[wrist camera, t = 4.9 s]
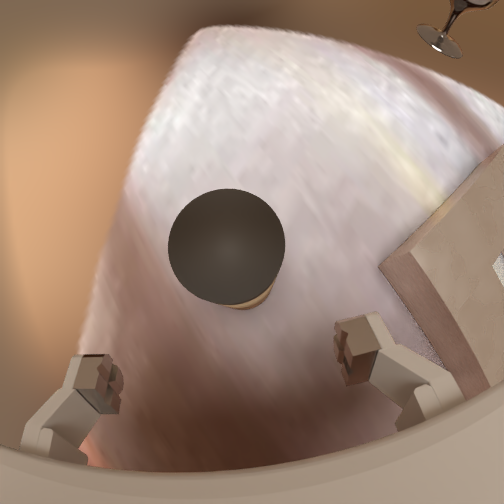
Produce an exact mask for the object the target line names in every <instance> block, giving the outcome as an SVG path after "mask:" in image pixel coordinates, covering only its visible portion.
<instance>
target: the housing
mask: <svg viewBox="0 0 504 504" xmlns="http://www.w3.org/2000/svg"><path fill="white" fill-rule="evenodd" d="M501 252H502V254H503V256H504V144H503V145H501V146H500V147H499V148H498V149H497V150H496V151H494V152H493V153H492V154H491V155H490V156H488V157H487V158H486V159H485V160H483V161H482V162H481V163H480V164H479V165H478V166H477V167H476V168H475V169H474V171H473V172H472V173H471V174H470V175H469V176H468V177H467V178H466V180H465V181H464V182H463V183H462V184H461V185H460V186H459V187H458V188H457V189H456V190H455V192H454V193H453V194H452V195H451V196H450V197H449V198H448V199H447V200H446V201H445V202H444V203H443V204H442V205H441V206H440V207H439V208H438V209H437V210H436V211H435V212H434V213H433V214H432V215H431V216H430V217H429V218H428V219H427V220H426V221H425V222H424V223H423V224H422V225H421V226H420V227H419V228H418V229H417V230H416V231H415V232H414V233H413V234H412V235H411V236H410V237H409V238H408V239H407V240H406V241H405V242H404V243H403V244H402V245H401V246H400V247H399V248H397V249H396V250H395V251H394V252H393V253H392V254H391V255H390V256H389V257H388V258H387V259H386V260H384V261H383V262H382V263H381V264H380V265H379V266H378V267H379V269H380V270H381V271H382V273H383V274H384V275H385V277H386V278H387V280H388V281H389V282H390V284H391V285H392V286H393V288H394V289H395V291H396V292H397V294H398V295H399V296H400V298H401V299H402V301H403V302H404V304H405V305H406V306H407V308H408V309H409V311H410V312H411V314H412V315H413V317H414V318H415V320H416V321H417V323H418V324H419V326H420V327H421V329H422V330H423V332H424V333H425V335H426V337H427V338H428V340H429V341H430V343H431V344H432V346H433V348H434V349H435V351H436V352H437V354H438V356H439V357H440V359H441V360H442V362H443V364H444V365H445V367H446V369H447V370H448V372H450V373H451V374H452V376H453V378H454V380H455V381H456V383H457V385H458V387H459V389H460V390H461V392H462V394H463V396H464V398H465V400H466V401H467V400H469V399H471V398H473V397H475V396H477V395H478V394H480V393H482V392H484V391H485V390H487V389H489V388H490V387H492V386H494V385H495V384H497V383H499V382H500V381H502V380H503V379H504V287H503V285H502V284H501V282H500V280H499V278H498V276H497V274H496V272H495V271H494V269H493V267H492V265H493V264H494V262H495V261H496V259H497V258H498V256H499V255H500V253H501Z"/></svg>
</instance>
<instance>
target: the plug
mask: <svg viewBox="0 0 504 504" xmlns="http://www.w3.org/2000/svg"><path fill="white" fill-rule="evenodd" d="M284 252H285V237H284V232H283V228H282V225H281V223H280V220H279V219H278V217H277V215H276V213H275V212H274V211H273V210H272V208H271V207H270V206H269V205H268V204H267V203H266V202H264V201H263V200H262V199H260V198H259V197H257V196H255V195H253V194H251V193H249V192H246V191H242V190H237V189H219V190H214V191H210V192H207V193H205V194H203V195H201V196H199V197H197V198H195V199H194V200H192V201H191V202H190V203H189V204H188V205H186V206H185V207H184V209H183V210H182V211H181V212H180V213H179V215H178V216H177V218H176V220H175V222H174V223H173V226H172V228H171V231H170V235H169V241H168V254H169V260H170V264H171V267H172V269H173V272H174V274H175V275H176V277H177V279H178V280H179V281H180V283H181V284H182V285H183V286H184V287H185V288H186V289H187V290H188V291H189V292H191V293H192V294H194V295H195V296H197V297H199V298H201V299H204V300H206V301H209V302H213V303H216V304H220V305H223V306H226V307H230V308H234V309H238V310H247V309H251V308H254V307H256V306H258V305H259V304H261V303H262V302H263V301H264V300H265V299H266V298H267V297H268V295H269V293H270V291H271V289H272V286H273V284H274V282H275V279H276V277H277V274H278V272H279V270H280V267H281V265H282V261H283V258H284Z"/></svg>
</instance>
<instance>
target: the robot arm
mask: <svg viewBox="0 0 504 504" xmlns="http://www.w3.org/2000/svg"><path fill="white" fill-rule="evenodd" d="M334 329H335V331H336V335H335V336H334V338H333V346H334V352H335V356H336V359H337V362H339V363H340V364H342V369H341V373H342V375H343V378H344V381H345V383H346V386H350V385H354V384H358V383H361V382H365V381H369V382H370V383H371V384H372V385H374V386H375V387H376V388H377V389H378V390H380V391H381V392H382V393H384V394H385V395H386V396H387V397H389V398H390V399H391V400H392V401H394V402H395V403H396V404H397V405H399V406H400V407H401V408H402V409H403V411H402V412H401V414H400V415H399V417H398V419H397V420H396V422H395V425H396V428H397V430H398V432H397V433H394V434H391V435H389V436H386V437H383V438H380V439H377V440H374V441H371V442H368V443H365V444H362V445H358V446H355V447H351V448H348V449H344V450H341V451H337V452H333V453H329V454H325V455H321V456H317V457H312V458H308V459H303V460H298V461H293V462H287V463H282V464H276V465H269V466H262V467H255V468H246V469H237V470H225V471H210V472H144V471H130V470H118V469H109V468H101V467H94V466H87V462H88V457H87V455H86V454H85V453H83V452H82V451H80V450H79V449H78V448H79V446H80V445H81V443H82V442H83V440H84V439H85V437H86V436H87V435H88V433H89V432H90V430H91V429H92V427H93V426H94V424H95V423H96V421H97V420H98V419H99V417H100V416H101V415H100V414H119V410H120V404H121V399H120V397H119V394H120V393H121V391H122V390H123V385H124V381H123V375H122V372H121V370H120V369H119V367H117V366H116V365H114V364H112V362H113V359H112V358H111V356H110V355H109V354H85V355H74V356H73V357H72V359H71V361H70V364H69V367H68V370H67V374H66V377H65V380H64V383H63V386H62V389H58V390H57V391H56V392H55V393H54V394H53V395H52V396H51V398H49V400H48V401H47V402H46V403H45V404H44V405H43V406H42V407H41V408H40V409H39V410H38V411H37V412H36V413H35V414H34V415H33V417H32V418H31V419H30V420H29V421H28V422H27V423H26V426H25V429H24V433H23V436H22V440H21V444H20V449H19V450H17V449H14V448H10V447H7V446H4V445H1V444H0V504H504V379H503V380H502V381H500V382H499V383H497V384H495V385H494V386H492V387H490V388H489V389H487V390H485V391H484V392H482V393H480V394H478V395H477V396H475V397H473V398H471V399H469V400H467V401H466V400H465V398H464V396H463V394H462V392H461V390H460V389H459V387H458V385H457V383H456V381H455V380H454V378H453V376H452V374H451V373H450V372H448V371H447V370H445V369H443V368H441V367H440V366H438V365H436V364H434V363H433V362H431V361H429V360H427V359H426V358H424V357H422V356H420V355H419V354H417V353H415V352H413V351H412V350H410V349H408V348H406V347H405V346H403V345H401V344H397V345H396V343H395V342H394V340H393V338H392V336H391V334H390V333H389V331H388V329H387V327H386V325H385V324H384V322H383V320H382V318H381V317H380V315H379V313H377V312H372V313H368V314H364V315H359V316H355V317H351V318H347V319H343V320H339V321H336V322H335V327H334Z"/></svg>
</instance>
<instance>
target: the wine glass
mask: <svg viewBox="0 0 504 504" xmlns="http://www.w3.org/2000/svg"><path fill="white" fill-rule="evenodd" d="M498 1H499V0H450V6H451V9H450V13H449V17H448V20H447V22H446V25H445V26H444V28H443V30H441V29H439V28H437V27H434V26H432V25H428V24H419V25H418V26H417V32H418V33H419V35H420V36H421V37H422V38H423V40H424V41H425V42H427V43H428V44H429V45H430V46H431V47H433V48H434V49H436V50H437V51H439V52H441V53H443V54H444V55H447V56H449V57H452V58H461V57H462V56H463V52H462V49H461V47H460V46H459V45H458V43H457V42H456V41H455V40H454V39H453V38H452V37H451V36H449V35H448V31H449V30H450V28H451V26H452V25H453V23H454V22H455V21H456V19H457V18H458V17H459V16H460V15H462V14H463V13H466V12H470V11H479V10H486V9H489V8H491V7H492V6H494V5H495V4H496V3H497V2H498Z"/></svg>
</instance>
